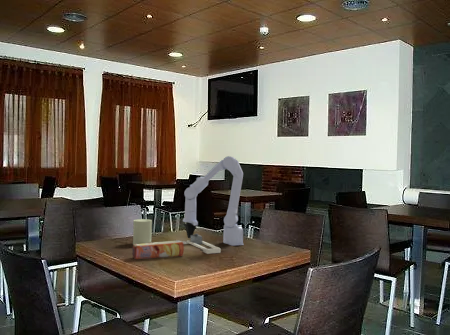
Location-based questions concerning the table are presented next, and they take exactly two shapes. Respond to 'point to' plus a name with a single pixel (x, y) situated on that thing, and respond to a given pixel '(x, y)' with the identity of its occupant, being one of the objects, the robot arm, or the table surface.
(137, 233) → the can
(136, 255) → the snack package
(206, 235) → the table surface
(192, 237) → the block
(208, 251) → the rail
